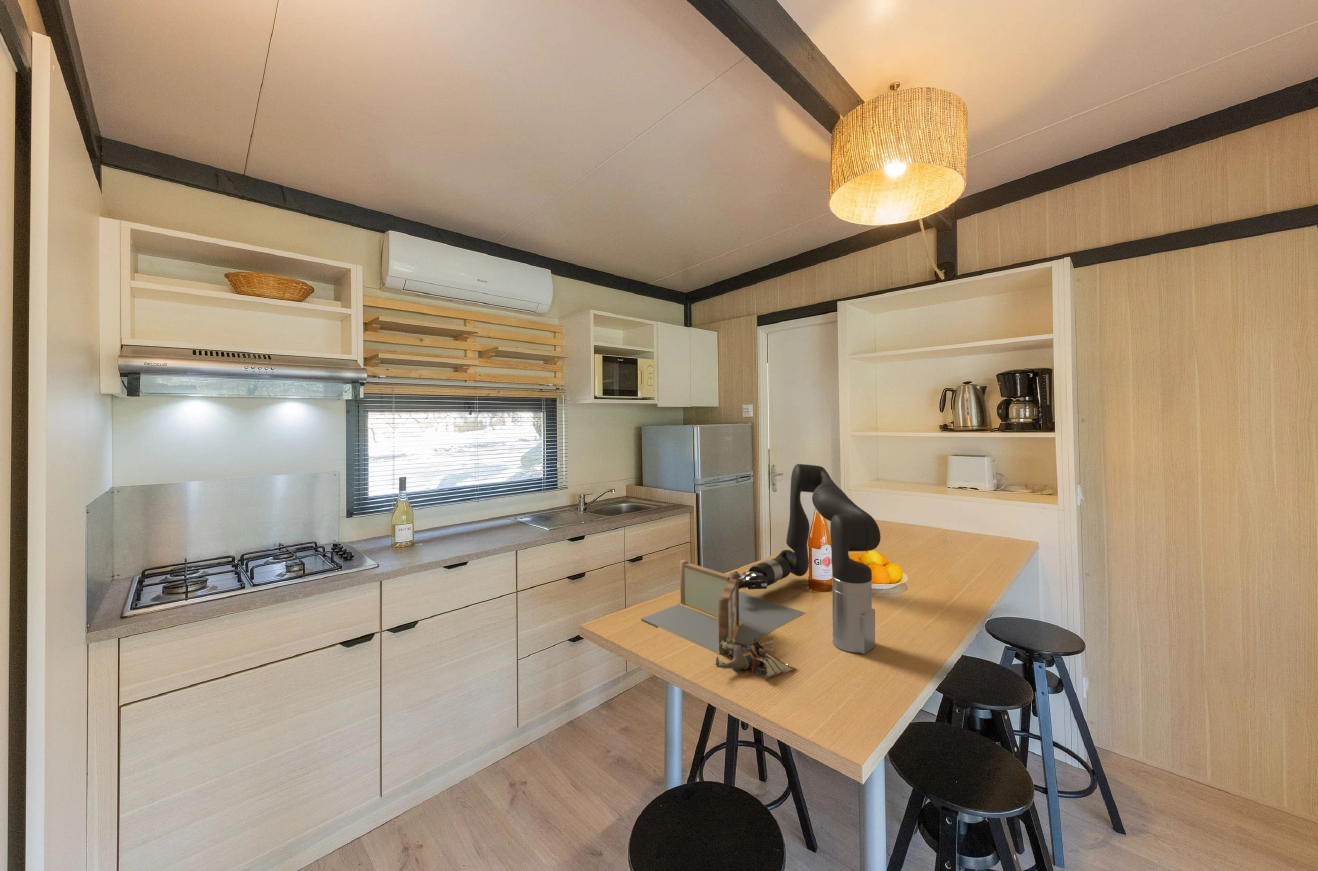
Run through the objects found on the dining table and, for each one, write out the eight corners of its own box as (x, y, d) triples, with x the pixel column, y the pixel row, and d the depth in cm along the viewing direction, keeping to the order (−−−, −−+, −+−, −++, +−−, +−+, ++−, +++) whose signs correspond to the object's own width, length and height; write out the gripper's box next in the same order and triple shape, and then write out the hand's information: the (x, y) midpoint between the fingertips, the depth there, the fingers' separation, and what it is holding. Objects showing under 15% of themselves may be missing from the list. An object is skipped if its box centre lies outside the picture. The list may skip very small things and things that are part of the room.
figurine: (743, 619, 124) (808, 642, 114) (741, 641, 125) (805, 666, 115) (704, 651, 108) (776, 681, 98) (702, 676, 108) (773, 708, 99)
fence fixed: (731, 621, 136) (730, 572, 136) (739, 621, 136) (739, 572, 135) (718, 654, 117) (717, 597, 117) (727, 655, 117) (727, 598, 116)
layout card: (807, 614, 141) (807, 612, 141) (725, 659, 116) (725, 656, 116) (724, 587, 164) (724, 586, 164) (640, 620, 139) (640, 618, 139)
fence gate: (733, 619, 137) (732, 573, 136) (727, 621, 135) (727, 575, 135) (684, 600, 151) (683, 559, 151) (679, 602, 150) (678, 561, 149)
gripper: (749, 558, 163) (715, 569, 151) (783, 566, 154) (750, 579, 142) (749, 580, 164) (716, 593, 152) (783, 589, 154) (750, 604, 142)
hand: (732, 586), depth 147 cm, fingers closed
